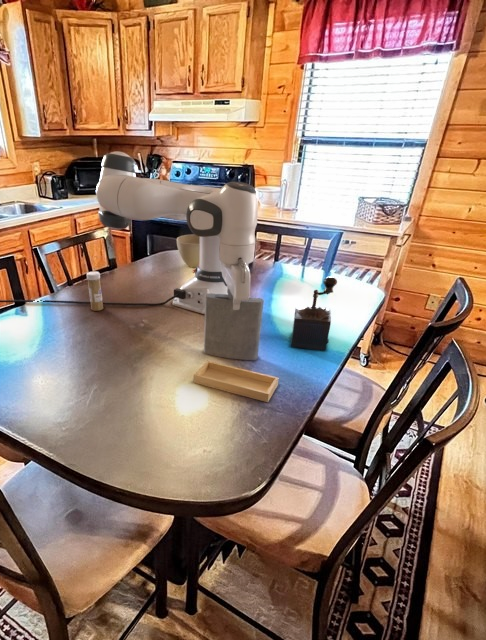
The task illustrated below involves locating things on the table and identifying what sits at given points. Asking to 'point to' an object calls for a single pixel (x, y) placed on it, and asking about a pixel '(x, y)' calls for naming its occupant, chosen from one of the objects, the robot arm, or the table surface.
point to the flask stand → (236, 380)
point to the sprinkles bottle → (95, 290)
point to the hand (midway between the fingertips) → (233, 304)
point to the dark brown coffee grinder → (313, 322)
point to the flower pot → (189, 249)
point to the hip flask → (232, 327)
